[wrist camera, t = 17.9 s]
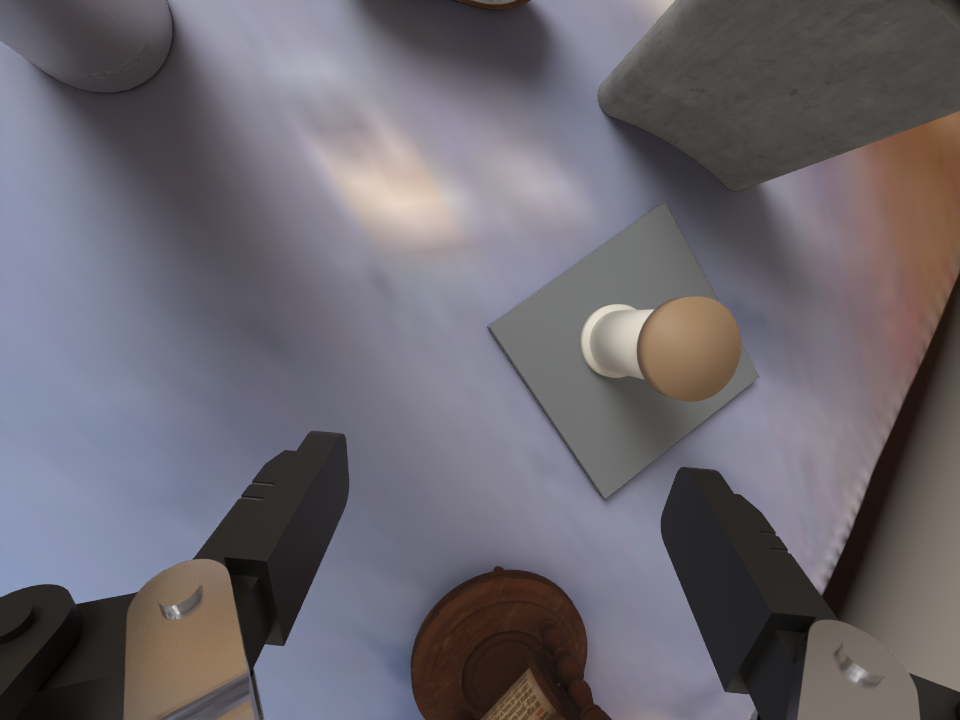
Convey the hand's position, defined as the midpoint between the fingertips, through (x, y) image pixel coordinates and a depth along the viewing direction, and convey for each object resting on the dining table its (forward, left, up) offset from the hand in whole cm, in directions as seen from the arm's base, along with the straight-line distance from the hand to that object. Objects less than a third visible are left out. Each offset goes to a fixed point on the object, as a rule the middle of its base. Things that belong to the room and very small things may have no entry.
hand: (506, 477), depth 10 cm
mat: (+9, +15, -24) cm, 30 cm away
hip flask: (-4, +29, -24) cm, 38 cm away
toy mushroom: (+7, +14, -23) cm, 28 cm away
